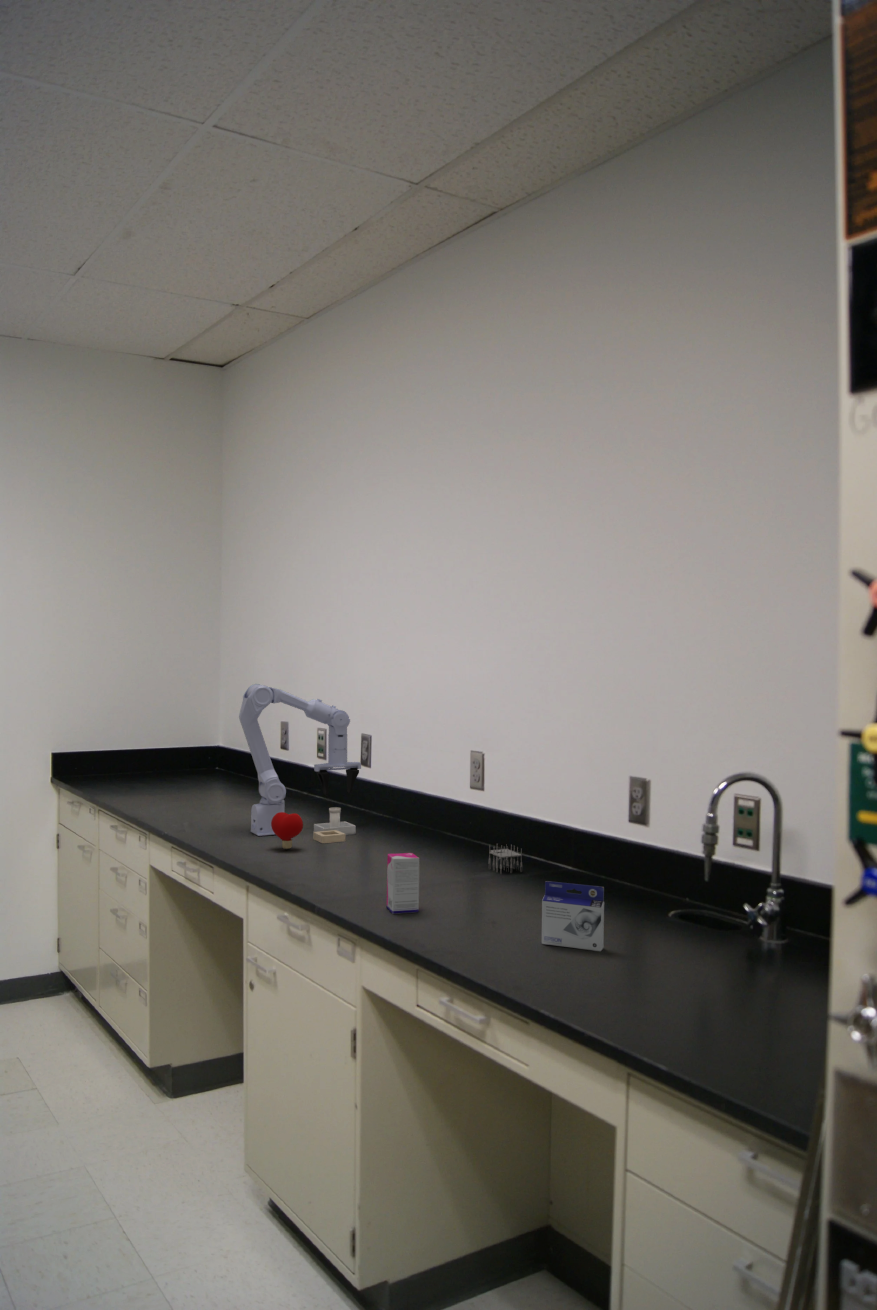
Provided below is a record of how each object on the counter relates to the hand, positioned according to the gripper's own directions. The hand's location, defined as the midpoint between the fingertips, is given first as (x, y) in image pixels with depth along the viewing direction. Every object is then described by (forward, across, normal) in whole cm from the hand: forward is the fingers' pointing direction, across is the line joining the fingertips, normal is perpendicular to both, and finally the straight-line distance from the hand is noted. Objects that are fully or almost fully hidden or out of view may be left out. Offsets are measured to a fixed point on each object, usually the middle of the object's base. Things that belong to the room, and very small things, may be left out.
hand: (337, 793), depth 295 cm
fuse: (+10, -4, -8) cm, 13 cm away
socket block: (+10, -9, -16) cm, 21 cm away
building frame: (+11, +16, -70) cm, 73 cm away
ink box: (+11, -5, -128) cm, 129 cm away
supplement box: (+11, -22, -91) cm, 94 cm away
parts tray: (+10, -4, -8) cm, 13 cm away
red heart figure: (+11, -24, -23) cm, 35 cm away
